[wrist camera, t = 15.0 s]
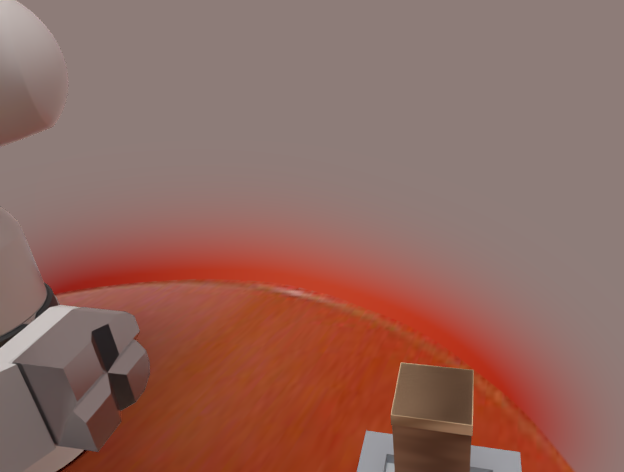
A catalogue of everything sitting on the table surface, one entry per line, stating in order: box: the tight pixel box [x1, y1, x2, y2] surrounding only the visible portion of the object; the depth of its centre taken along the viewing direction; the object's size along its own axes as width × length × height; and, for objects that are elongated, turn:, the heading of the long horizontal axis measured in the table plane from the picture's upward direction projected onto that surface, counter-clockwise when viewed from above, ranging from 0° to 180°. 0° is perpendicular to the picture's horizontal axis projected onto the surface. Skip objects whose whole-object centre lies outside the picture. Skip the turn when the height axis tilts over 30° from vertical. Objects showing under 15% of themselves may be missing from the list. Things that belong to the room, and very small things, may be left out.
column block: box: [391, 363, 474, 472], centre depth 34 cm, size 5×5×12 cm
